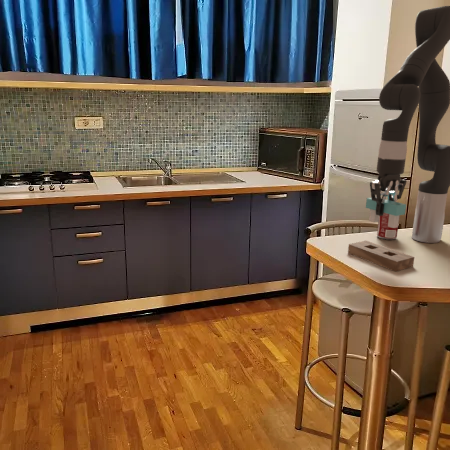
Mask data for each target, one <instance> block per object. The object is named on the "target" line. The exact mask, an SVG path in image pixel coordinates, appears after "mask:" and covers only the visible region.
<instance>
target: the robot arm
mask: <svg viewBox="0 0 450 450" xmlns="http://www.w3.org/2000/svg"><path fill="white" fill-rule="evenodd" d="M415 17H416V18H415V21H414V22H415V24H414V34H415V44H416V48H415V49H413V51H411V52H410V53H409V54H408V55H407V56H406V58H405V60H404V62H403V63H402V65H401V67H400V69H399V71H398V72H397V73H395V74H394V76H392V77H391V78H390V79H388V81H387V82H386V83H385V84H384V86H383V87H382V89H381V90H380V93H379V96H378V101H379V105H380V107H381V108H382V109H383V110H387V111H401V112H400V114H399V115H398V116H397V117H395V118H388V119H386V120H384V121H383V124H382V131H381V138H380V143H379V148H378V156H377V163H376V164H377V165H376V172H377V173H378V177H377V179H376V180H375V181H370V182H369V189H370V196H371V197H370V198H371V199H372V201H376V203H377V204H376V215H379V216H383V214H384V205H385V204H384V203H385V199H386V200H390V201H394V202H398V200H401V198H402V196H403V194H404V191H405V188H406V184H407V180H406V179H402V178H401V175H403V174H404V173H405V166H406V159H407V158H406V157H407V154H408V153H407V151H408V149H407V148H408V137H409V131H410V126H411V122H412V120H413V117H414V115H415V112H416V110H417V107H418V113H419V115H418V118H419V120H418V121H419V122H418V123H419V124H418V128H419V129H418V143H417V157H416V158H417V164H418V167H419V168H420V169H421V170H424V171H428V172H433V176H432V178H431V179H427V180H424V181H421V182H419V184H418V191H417V197H416V205H415V209H414V210H415V212H414V219H413V226H412V231H411V238H412V240H414V241H417V242H421V243H427V244H437V243H440V241H441V240H442V236H443V235H442V234H443V229H444V223H445V218H446V214H445V212H446V204H447V197H448V192H449V188H450V145H447V144H438V143H437V142H436V135H437V134H436V133H437V129H438V126H439V124H440V122H441V121H442V120H443V118H444V116H445V114H446V113H447V111H448V109H449V108H450V79H449V78H448V76H447V74H446V73H445V71H444V70H443V68H442V67H441V65H440V64H439V63H438V61H437V59H436V58H437V56H438V55H440V53H441V52H442V51H443V49H444V48H445V47H446V45H447V44H448V43H449V41H450V5H442V6H438V7H432V8H427V9H422V10H420V11H418V13H417V15H416V16H415ZM381 198H382V199H381Z"/></svg>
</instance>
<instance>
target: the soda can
mask: <svg viewBox="0 0 450 450" xmlns="http://www.w3.org/2000/svg"><path fill="white" fill-rule="evenodd" d="M400 217H401V215H400V216H399V218H400ZM388 221H389V214H387V213H384V214H383V216H379V222H378V223H377V230H376V237H378V238H379V237H380V238H379V239H381V238H382V239H381V240H385V239H386V240H385V241H393V240H394V239H397V237H398V231H399V224H400V223H398V227H397V228H391V227H388Z"/></svg>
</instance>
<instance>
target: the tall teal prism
mask: <svg viewBox="0 0 450 450" xmlns="http://www.w3.org/2000/svg"><path fill="white" fill-rule="evenodd" d="M381 199H382V197H381ZM376 204H377V203H376V201H372V199H371V197H366V203H365V209H369V217H368V218H369V219H368V221H369V222H371V223H377V222H379V215H376ZM384 204H385V205H384V213H387V214H389V221H388V227H391V228H397V227H398V228H399V225H398V223H399V222H400V217H401V216H404V215H406V211H407V210H406V209H407V204H406V203H402V202H399V201H396V202H394V201H390V200H388V199H387V198H386V199H385V203H384ZM399 216H400V217H399ZM399 224H400V223H399Z"/></svg>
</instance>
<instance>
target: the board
mask: <svg viewBox="0 0 450 450" xmlns="http://www.w3.org/2000/svg"><path fill="white" fill-rule="evenodd" d="M347 254H349V255H352V256H354V257H357V258H359V259H363V260H364V261H367V262H371V263H373V264H375V265H378V266H380V267H382V268H386V269H388V270H391V271H393V272H398V271H403V270H405V269H410V268H413V267H414V264H415V256H413V255H410V254H407V253H404V252H401V251H397V250H395V249H393V248H389V247H386V246H383V245H381V244H377V243H375V242H371V241H369V240H362V241H358V242H357V241H356V242H354V243H349V244H348V248H347Z"/></svg>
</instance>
